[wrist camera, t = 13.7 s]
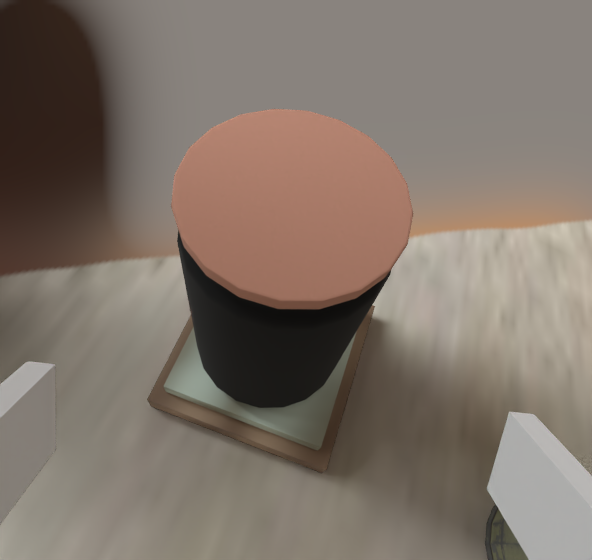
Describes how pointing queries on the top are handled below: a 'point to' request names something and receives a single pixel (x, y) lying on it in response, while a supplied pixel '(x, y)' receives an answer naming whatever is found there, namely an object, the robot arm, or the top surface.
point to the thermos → (501, 539)
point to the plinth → (254, 433)
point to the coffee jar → (284, 247)
